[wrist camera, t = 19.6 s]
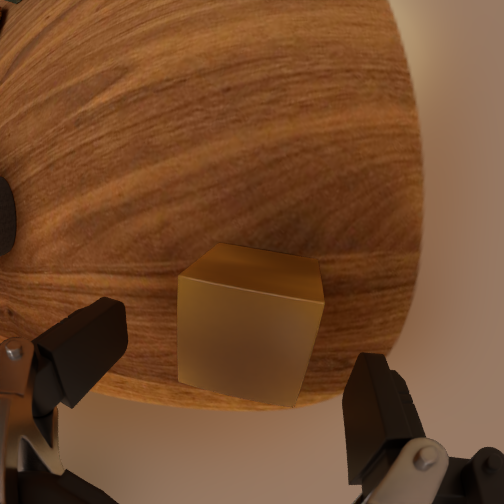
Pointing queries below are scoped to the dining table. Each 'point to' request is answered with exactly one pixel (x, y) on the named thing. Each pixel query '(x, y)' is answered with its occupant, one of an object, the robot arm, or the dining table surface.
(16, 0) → the cabinet
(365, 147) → the dining table surface
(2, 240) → the coffee cup
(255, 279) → the block
